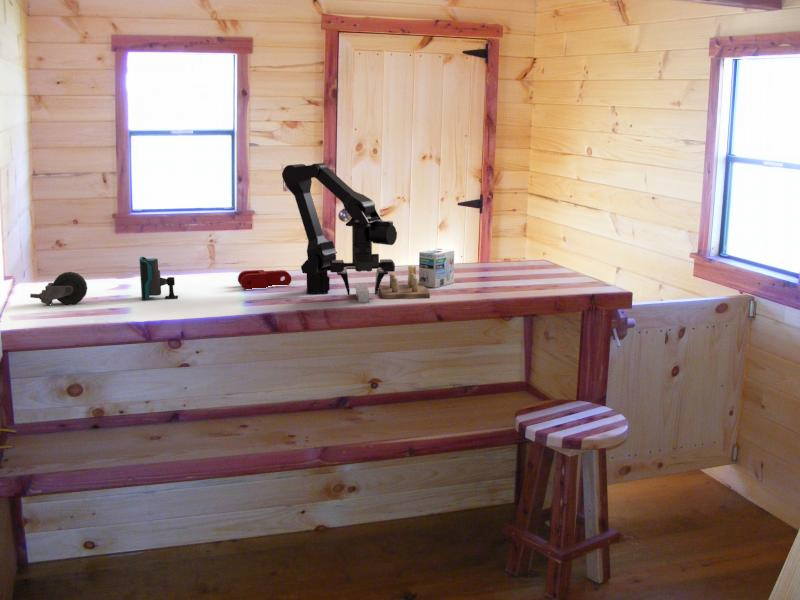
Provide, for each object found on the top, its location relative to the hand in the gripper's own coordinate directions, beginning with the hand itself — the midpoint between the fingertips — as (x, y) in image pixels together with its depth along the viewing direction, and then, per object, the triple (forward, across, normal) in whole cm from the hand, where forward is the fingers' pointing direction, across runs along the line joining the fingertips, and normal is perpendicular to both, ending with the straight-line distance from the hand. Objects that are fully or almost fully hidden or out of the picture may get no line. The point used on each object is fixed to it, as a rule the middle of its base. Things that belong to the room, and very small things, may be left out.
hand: (362, 294), depth 268 cm
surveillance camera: (+1, -59, +5) cm, 59 cm away
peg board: (+1, +13, +6) cm, 14 cm away
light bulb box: (+1, +25, +19) cm, 31 cm away
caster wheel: (+1, -86, -1) cm, 86 cm away
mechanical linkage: (+2, -29, +19) cm, 35 cm away
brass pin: (+1, +17, +18) cm, 25 cm away
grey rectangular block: (+1, 0, 0) cm, 1 cm away
